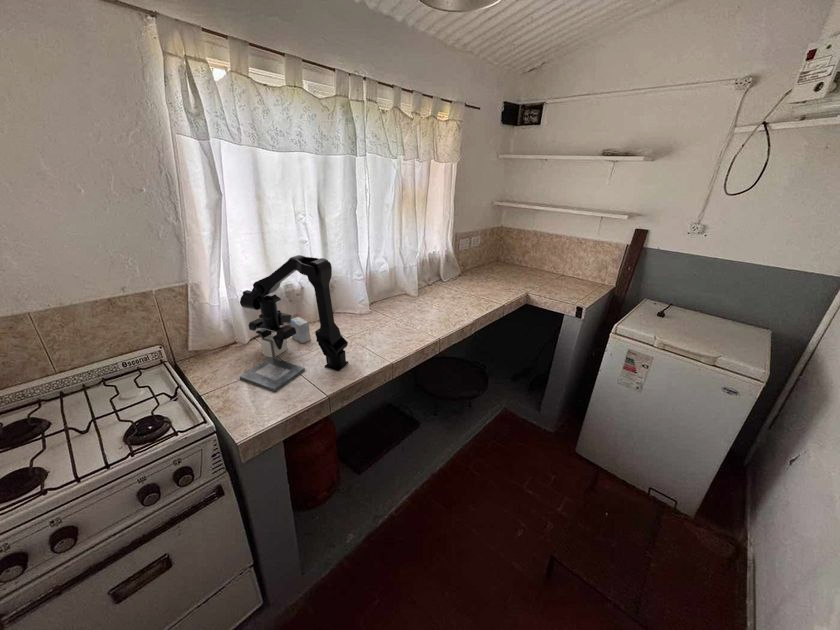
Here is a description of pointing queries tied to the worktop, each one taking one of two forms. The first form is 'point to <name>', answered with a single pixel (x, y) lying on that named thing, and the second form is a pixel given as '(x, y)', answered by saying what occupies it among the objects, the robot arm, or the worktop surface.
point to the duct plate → (272, 374)
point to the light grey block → (272, 346)
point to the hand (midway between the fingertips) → (275, 347)
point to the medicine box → (301, 329)
